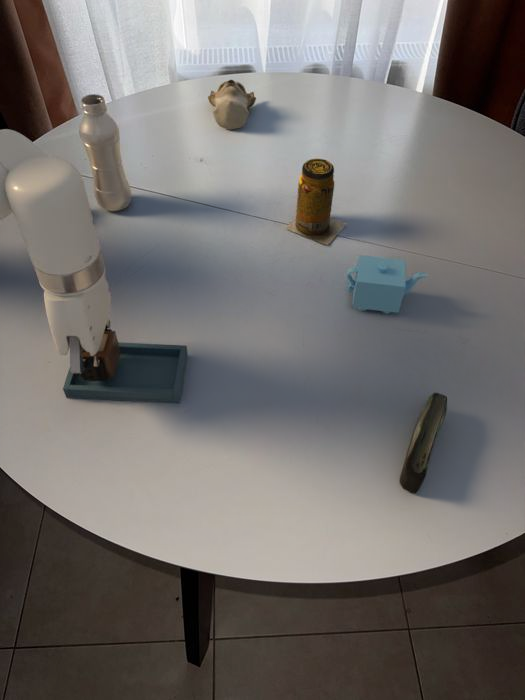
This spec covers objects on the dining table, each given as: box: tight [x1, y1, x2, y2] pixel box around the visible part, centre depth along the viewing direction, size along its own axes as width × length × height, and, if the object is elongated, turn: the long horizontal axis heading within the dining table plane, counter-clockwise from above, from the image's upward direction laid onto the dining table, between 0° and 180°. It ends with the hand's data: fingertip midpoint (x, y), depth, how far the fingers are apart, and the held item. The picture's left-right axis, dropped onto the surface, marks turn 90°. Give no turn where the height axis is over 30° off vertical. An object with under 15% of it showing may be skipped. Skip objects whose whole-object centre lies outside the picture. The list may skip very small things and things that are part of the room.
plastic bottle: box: [78, 93, 132, 212], centre depth 99 cm, size 6×7×20 cm
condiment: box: [285, 158, 347, 246], centre depth 99 cm, size 7×8×12 cm
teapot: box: [346, 254, 429, 315], centre depth 89 cm, size 12×6×8 cm, turn 82°
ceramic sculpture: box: [207, 79, 257, 131], centre depth 125 cm, size 11×9×15 cm
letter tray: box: [62, 341, 189, 404], centre depth 81 cm, size 16×9×2 cm, turn 88°
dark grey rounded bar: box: [399, 392, 448, 494], centre depth 74 cm, size 5×3×15 cm
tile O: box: [80, 330, 121, 378], centre depth 78 cm, size 5×5×5 cm
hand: (100, 362), depth 80 cm, fingers closed on tile O, 4 cm apart
